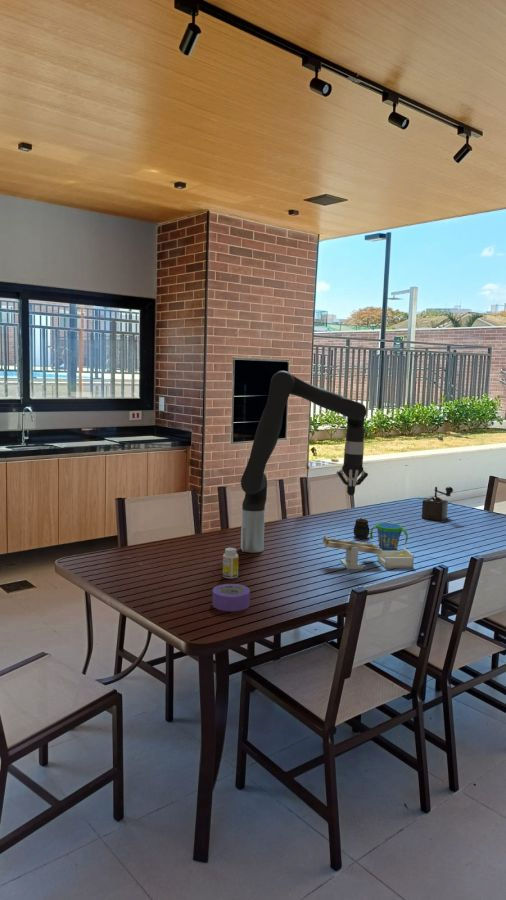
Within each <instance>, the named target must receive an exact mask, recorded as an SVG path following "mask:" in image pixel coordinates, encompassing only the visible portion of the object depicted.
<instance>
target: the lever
mask: <svg viewBox="0 0 506 900" xmlns="http://www.w3.org/2000/svg"><path fill="white" fill-rule="evenodd" d="M322 543H323V545H324V546H325V547H327V548H333V549H341V550H345V551H346V550H351V548H352V547H358V552H359V553H367V554H368V553H369V554H374V555H378V554H382V551H383V550H382V549H380V547H379V544H378V545H377V544H374V543H371V542H370V543H369V542H365V541H364V542H363V541H360V542H357V541H349V540H344V539H343V540H342V539H336V538H335V539H334V538H328V537H327V536H326V535H323V538H322Z"/></svg>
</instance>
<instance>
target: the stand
mask: <svg viewBox="0 0 506 900" xmlns="http://www.w3.org/2000/svg"><path fill="white" fill-rule="evenodd" d="M358 559H359V551H358V547H352V548H351V550H346V549H345V558H341V559H340V560H339V561H340V563H342V564H343V566H344V567H345V568H346V570H363V569H364V566H362V565H361V563H359V560H358Z"/></svg>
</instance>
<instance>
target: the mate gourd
mask: <svg viewBox="0 0 506 900" xmlns="http://www.w3.org/2000/svg"><path fill="white" fill-rule="evenodd" d="M354 522H355V523H354V528H353V535H354V537H356V538H357V539H366V538H367V537H369V536H370V532H371V530H370V527H369V520H368V519H366V518H362V517H360V518H356V519H355V521H354Z"/></svg>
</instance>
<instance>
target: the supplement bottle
mask: <svg viewBox="0 0 506 900" xmlns="http://www.w3.org/2000/svg"><path fill="white" fill-rule="evenodd" d="M222 576H223V578H224V579H229V580H230V579H231V580H232V579H236V578H237V579H238V577H239V554H238V553H237V548H235V547H227V548H225V549H224V553H223V554H222Z"/></svg>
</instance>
